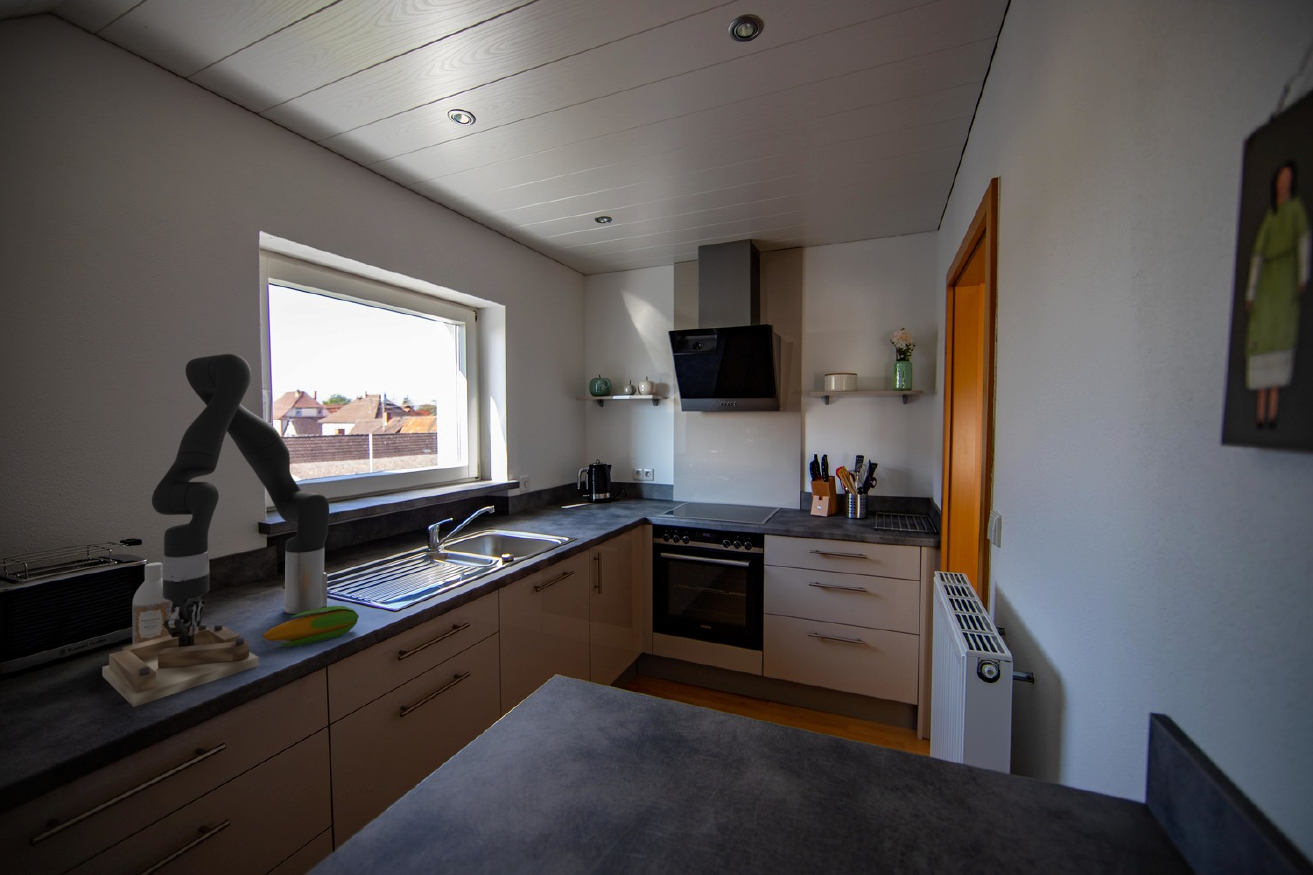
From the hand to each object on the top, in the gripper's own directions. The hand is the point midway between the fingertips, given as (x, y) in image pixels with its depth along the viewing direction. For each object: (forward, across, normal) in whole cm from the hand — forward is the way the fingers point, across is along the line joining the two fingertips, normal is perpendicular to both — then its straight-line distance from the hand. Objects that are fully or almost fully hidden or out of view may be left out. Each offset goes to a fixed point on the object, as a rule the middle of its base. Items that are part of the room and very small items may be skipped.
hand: (186, 651), depth 114 cm
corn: (+4, -8, +22) cm, 24 cm away
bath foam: (+4, -12, -11) cm, 17 cm away
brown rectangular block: (+1, +3, +5) cm, 6 cm away
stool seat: (+3, +2, 0) cm, 4 cm away
